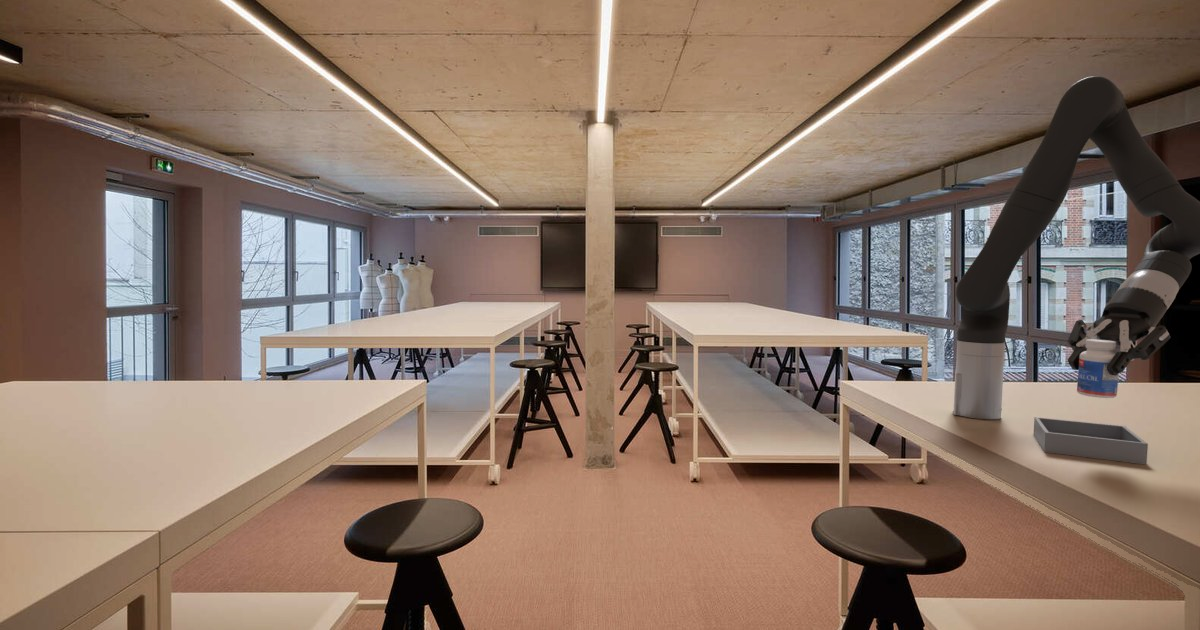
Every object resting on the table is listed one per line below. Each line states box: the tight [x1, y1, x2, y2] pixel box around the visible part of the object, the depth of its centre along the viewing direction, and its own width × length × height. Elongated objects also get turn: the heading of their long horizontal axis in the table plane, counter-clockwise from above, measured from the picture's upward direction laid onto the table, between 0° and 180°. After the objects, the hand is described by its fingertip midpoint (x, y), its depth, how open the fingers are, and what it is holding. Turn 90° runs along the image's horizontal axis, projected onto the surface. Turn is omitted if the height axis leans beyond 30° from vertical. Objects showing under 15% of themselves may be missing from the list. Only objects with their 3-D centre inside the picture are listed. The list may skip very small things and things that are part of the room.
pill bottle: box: [1076, 338, 1120, 399], centre depth 102 cm, size 6×5×10 cm
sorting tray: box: [1033, 416, 1149, 466], centre depth 109 cm, size 14×14×4 cm
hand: (1091, 369), depth 102 cm, fingers closed on pill bottle, 5 cm apart
